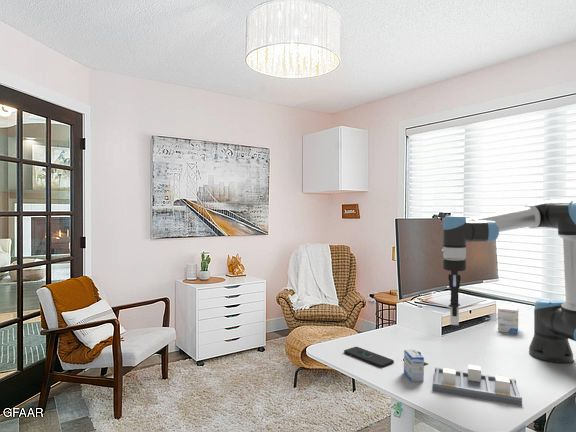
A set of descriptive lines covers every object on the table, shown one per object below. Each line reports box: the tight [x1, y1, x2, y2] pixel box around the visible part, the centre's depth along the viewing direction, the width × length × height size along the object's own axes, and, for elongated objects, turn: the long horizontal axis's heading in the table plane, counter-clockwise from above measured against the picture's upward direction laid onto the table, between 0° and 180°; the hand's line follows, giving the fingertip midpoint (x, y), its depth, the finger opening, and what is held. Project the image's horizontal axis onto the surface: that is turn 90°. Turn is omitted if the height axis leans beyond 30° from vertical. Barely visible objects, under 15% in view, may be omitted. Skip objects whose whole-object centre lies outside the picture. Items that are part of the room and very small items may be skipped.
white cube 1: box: [494, 375, 510, 394], centre depth 129 cm, size 4×4×4 cm
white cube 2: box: [467, 364, 482, 382], centre depth 138 cm, size 4×4×4 cm
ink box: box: [497, 304, 519, 335], centre depth 197 cm, size 9×8×12 cm
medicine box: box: [403, 349, 425, 382], centre depth 143 cm, size 8×4×9 cm, turn 5°
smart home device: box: [343, 346, 395, 369], centre depth 161 cm, size 8×2×20 cm
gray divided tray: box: [432, 366, 523, 406], centre depth 135 cm, size 26×15×2 cm, turn 67°
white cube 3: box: [442, 367, 457, 386], centre depth 135 cm, size 4×4×4 cm
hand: (454, 324), depth 142 cm, fingers closed
